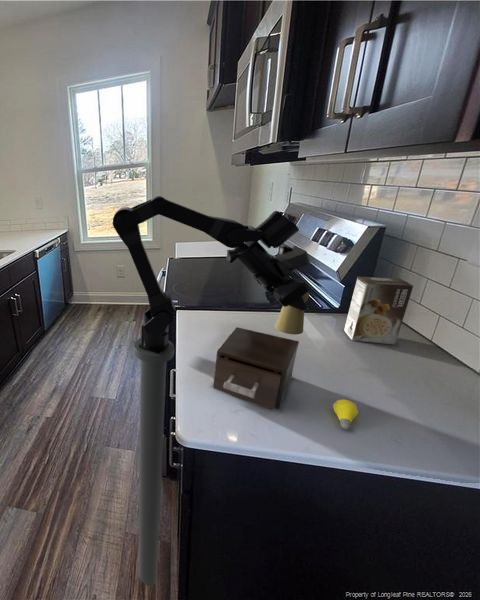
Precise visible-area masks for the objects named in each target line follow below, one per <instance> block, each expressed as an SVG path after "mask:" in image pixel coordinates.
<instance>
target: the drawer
mask: <svg viewBox="0 0 480 600" xmlns="http://www.w3.org/2000/svg"><path fill="white" fill-rule="evenodd" d="M215 366H216V372H215V371H214V376H215V381H214V380H213V384H214V387H213V389H214V390H217V391H219V392H223V393H225V394H229V395H231V396H234V397H237V398H239V399H242V400H245V401H247V402H250V403H253V404H256V405H259V406H261V407H265V408H267V409H270V410H273V411H275V410H276V409H275V407H276V402H277V397H278V392H279V387H280V382H281V377H282V375H281V373H280V372H277V371H273V370H270V369H266V368H263V367H259V366H256V365H253V364H249V363H246V362H242V361H239V360H235V359H232V358H228V357H225V356H224V358H221V357H218V358H217V363H216V362H215Z"/></svg>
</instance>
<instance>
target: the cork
mask: <svg viewBox="0 0 480 600" xmlns="http://www.w3.org/2000/svg"><path fill="white" fill-rule="evenodd" d="M302 298H303V300H304V302H305V303H306V302H308V300H309V298H310V291H309V292H307V293H306V294H304V295H303V296H302ZM304 323H305V310H304V311H302V310H300V309H297V308H294V307H292V306H286V307H284V306H283V305H282V307H281V309H280V312H279V315H278V317H277V320H276V322H275V326H274V327H275V329H276V330H277V331H279V332H280V333H283V334H286V335H302V334H303V333H304V327H305V326H304Z"/></svg>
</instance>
